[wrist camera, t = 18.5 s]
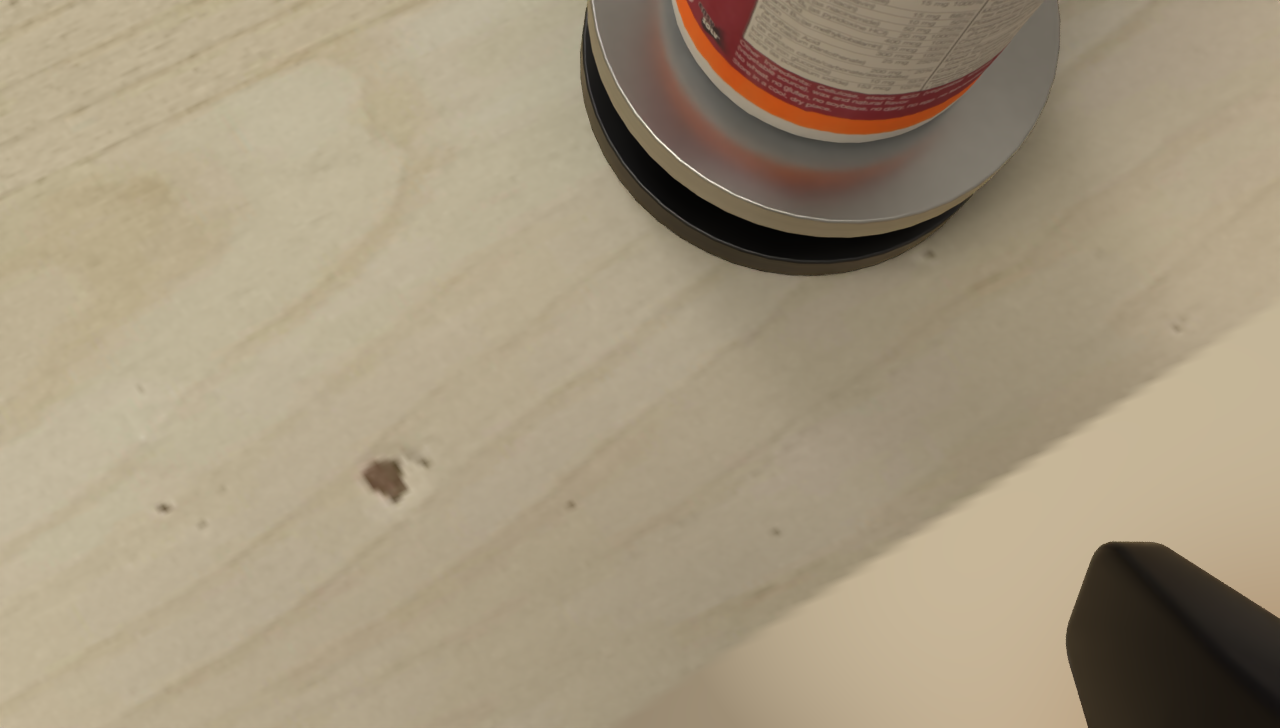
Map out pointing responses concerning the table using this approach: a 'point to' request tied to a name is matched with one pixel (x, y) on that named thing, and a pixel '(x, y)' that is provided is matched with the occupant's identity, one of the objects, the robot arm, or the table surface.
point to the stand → (794, 149)
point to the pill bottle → (847, 58)
